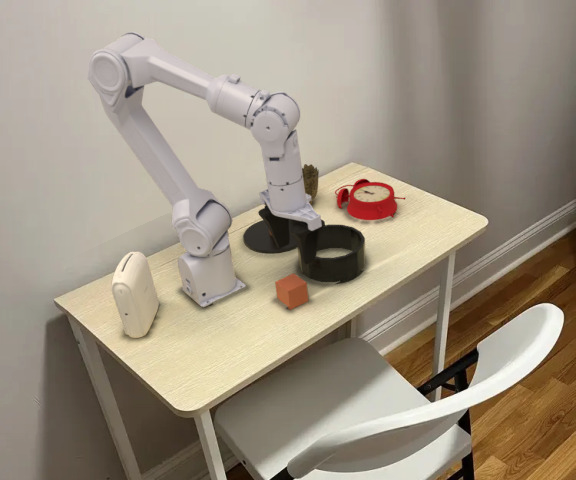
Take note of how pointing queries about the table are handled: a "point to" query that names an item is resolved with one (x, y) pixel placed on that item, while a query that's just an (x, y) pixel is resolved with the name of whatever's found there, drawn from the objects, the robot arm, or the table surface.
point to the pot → (338, 266)
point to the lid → (267, 238)
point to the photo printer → (135, 294)
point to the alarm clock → (368, 200)
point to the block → (292, 291)
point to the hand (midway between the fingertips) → (296, 253)
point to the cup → (310, 180)
